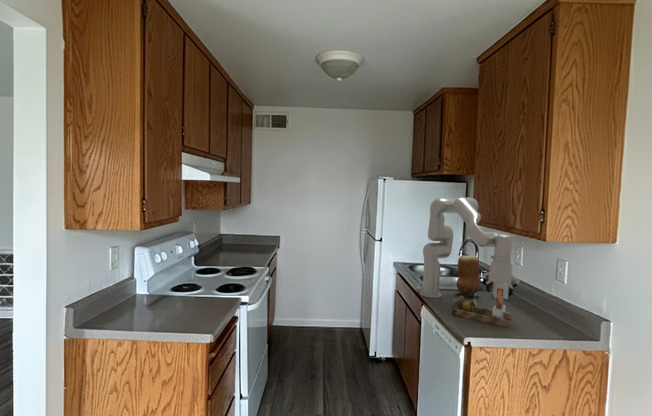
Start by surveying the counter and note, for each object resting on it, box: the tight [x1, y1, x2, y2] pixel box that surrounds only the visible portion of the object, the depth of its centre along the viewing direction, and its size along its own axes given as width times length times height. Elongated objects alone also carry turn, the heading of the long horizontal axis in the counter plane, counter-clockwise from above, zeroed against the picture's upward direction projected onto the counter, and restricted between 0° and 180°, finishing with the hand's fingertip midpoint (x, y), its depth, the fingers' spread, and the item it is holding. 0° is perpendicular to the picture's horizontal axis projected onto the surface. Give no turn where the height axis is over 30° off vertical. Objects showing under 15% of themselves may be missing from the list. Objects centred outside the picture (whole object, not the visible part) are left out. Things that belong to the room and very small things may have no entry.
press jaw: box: [492, 288, 506, 319], centre depth 185 cm, size 4×10×15 cm, turn 145°
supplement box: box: [492, 282, 509, 300], centre depth 229 cm, size 7×7×13 cm
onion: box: [461, 299, 479, 313], centre depth 193 cm, size 8×8×8 cm
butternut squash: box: [456, 255, 481, 298], centre depth 228 cm, size 14×13×25 cm
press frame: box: [451, 295, 512, 328], centre depth 190 cm, size 25×14×7 cm, turn 55°
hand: (499, 293), depth 185 cm, fingers open, 9 cm apart
